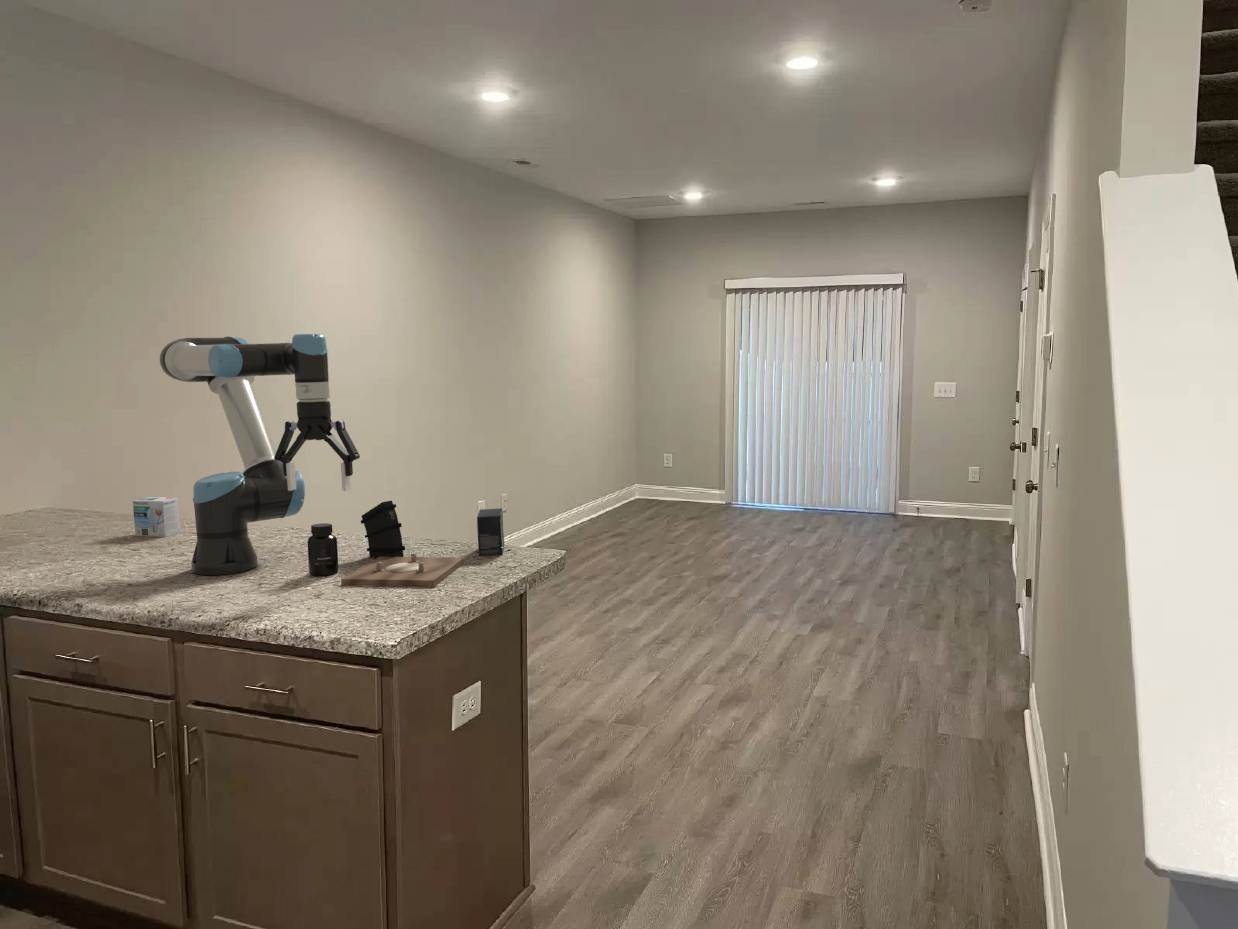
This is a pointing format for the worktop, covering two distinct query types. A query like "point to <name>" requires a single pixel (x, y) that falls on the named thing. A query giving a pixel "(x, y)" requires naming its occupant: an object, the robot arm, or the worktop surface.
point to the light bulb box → (156, 516)
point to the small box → (490, 532)
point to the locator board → (403, 571)
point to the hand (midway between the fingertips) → (319, 490)
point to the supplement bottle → (322, 551)
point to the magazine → (383, 531)
